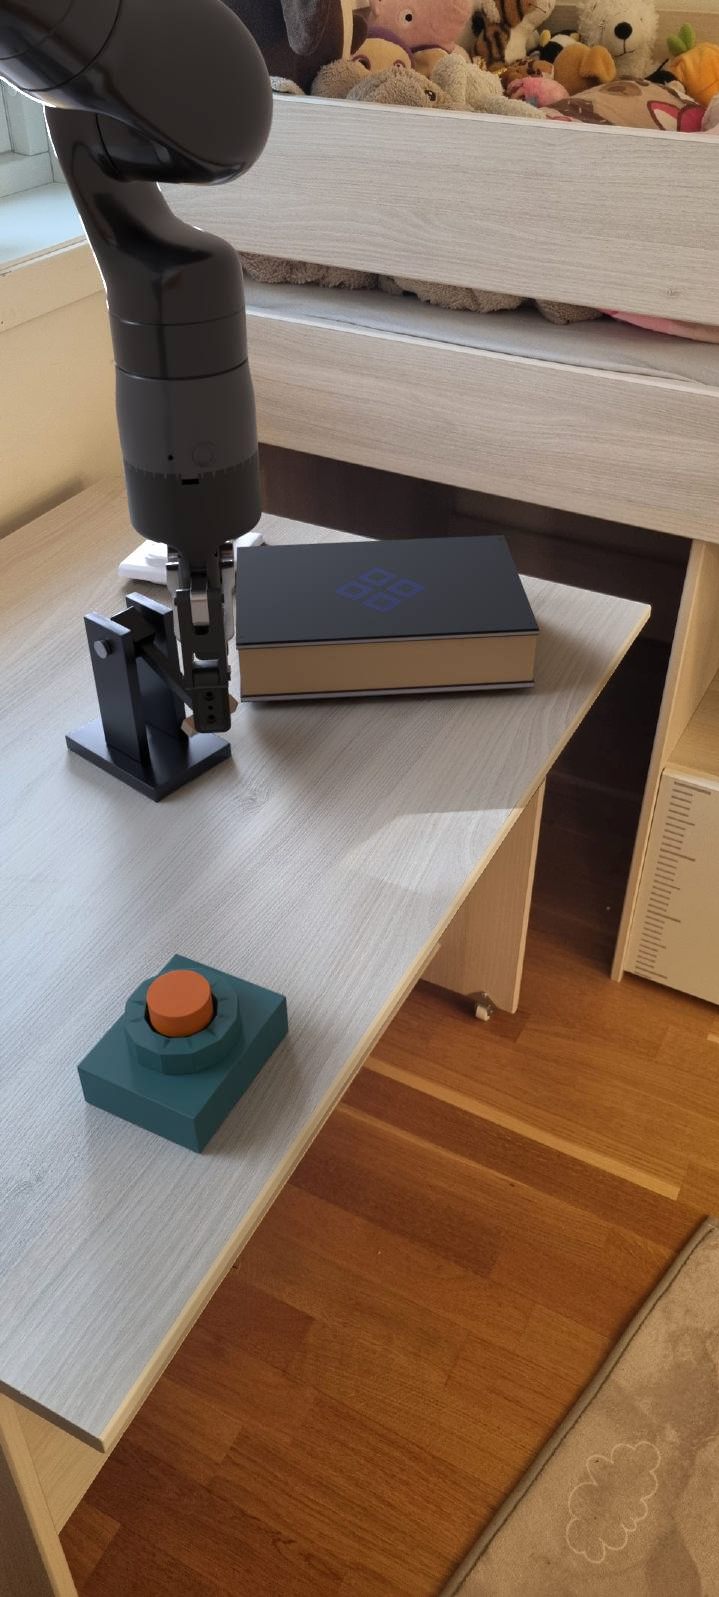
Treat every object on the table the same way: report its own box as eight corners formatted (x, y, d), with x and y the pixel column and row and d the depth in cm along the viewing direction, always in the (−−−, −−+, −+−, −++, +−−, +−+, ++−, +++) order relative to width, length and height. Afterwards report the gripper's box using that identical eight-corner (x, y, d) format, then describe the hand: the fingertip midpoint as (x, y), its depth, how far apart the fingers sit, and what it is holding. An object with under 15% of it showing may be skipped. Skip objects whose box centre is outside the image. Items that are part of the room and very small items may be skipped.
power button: (190, 1046, 67) (187, 1025, 66) (137, 1024, 68) (133, 1003, 67) (225, 1003, 69) (222, 982, 68) (173, 982, 71) (170, 962, 70)
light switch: (263, 509, 124) (216, 557, 114) (265, 546, 127) (218, 597, 117) (167, 497, 127) (113, 543, 117) (171, 534, 129) (117, 582, 119)
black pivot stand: (231, 755, 96) (218, 616, 88) (156, 802, 92) (135, 659, 84) (142, 706, 102) (122, 571, 94) (67, 748, 97) (39, 609, 89)
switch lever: (233, 716, 90) (241, 697, 88) (188, 743, 88) (195, 724, 86) (140, 620, 93) (145, 599, 91) (93, 643, 90) (97, 622, 88)
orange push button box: (199, 1155, 67) (190, 1098, 64) (84, 1102, 70) (70, 1045, 67) (289, 1031, 74) (285, 975, 71) (181, 988, 77) (172, 932, 73)
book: (241, 609, 115) (236, 546, 111) (499, 597, 116) (503, 534, 112) (241, 710, 101) (235, 642, 97) (533, 695, 103) (539, 628, 98)
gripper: (127, 400, 71) (156, 639, 81) (112, 497, 60) (149, 761, 70) (253, 395, 72) (267, 633, 82) (263, 490, 60) (277, 753, 70)
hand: (212, 692), depth 76 cm, fingers open, 8 cm apart
